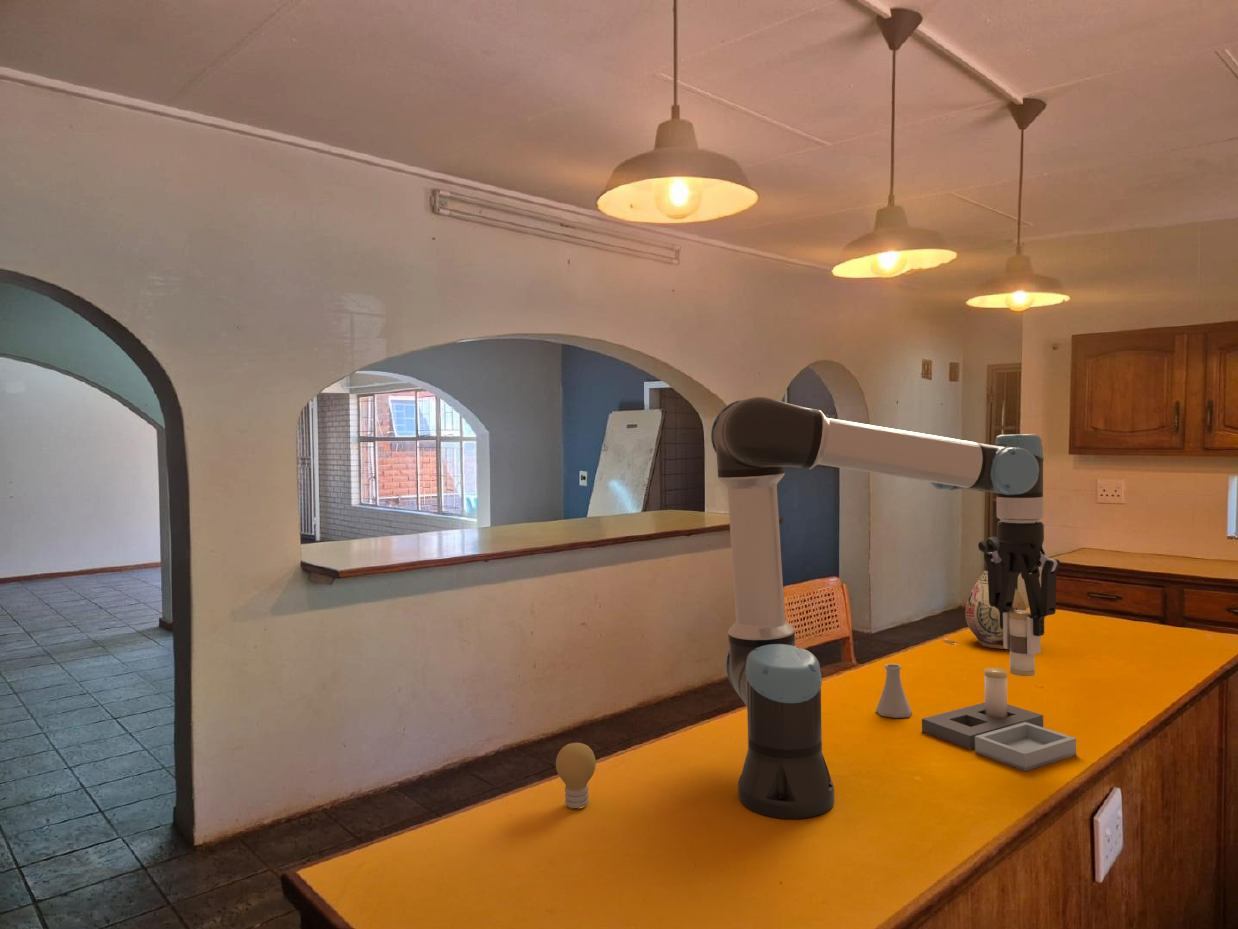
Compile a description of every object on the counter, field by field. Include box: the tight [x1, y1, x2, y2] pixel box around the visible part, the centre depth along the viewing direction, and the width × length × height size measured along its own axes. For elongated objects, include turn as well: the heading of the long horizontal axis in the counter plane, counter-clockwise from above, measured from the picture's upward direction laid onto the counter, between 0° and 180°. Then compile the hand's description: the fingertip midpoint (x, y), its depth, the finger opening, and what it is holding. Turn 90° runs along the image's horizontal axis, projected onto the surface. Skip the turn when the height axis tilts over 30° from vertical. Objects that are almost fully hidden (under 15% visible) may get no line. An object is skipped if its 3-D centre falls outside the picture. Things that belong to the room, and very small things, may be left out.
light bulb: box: [555, 742, 597, 809], centre depth 130 cm, size 6×6×10 cm
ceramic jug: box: [964, 536, 1028, 650], centre depth 221 cm, size 17×15×30 cm
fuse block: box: [921, 702, 1044, 750], centre depth 159 cm, size 21×11×2 cm, turn 118°
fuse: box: [983, 667, 1008, 719], centre depth 161 cm, size 4×4×11 cm
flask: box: [875, 663, 913, 719], centre depth 170 cm, size 7×7×10 cm
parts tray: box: [974, 722, 1077, 773], centre depth 147 cm, size 14×10×3 cm
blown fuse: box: [1009, 609, 1036, 677], centre depth 146 cm, size 4×4×11 cm
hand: (1021, 650), depth 146 cm, fingers closed on blown fuse, 4 cm apart
